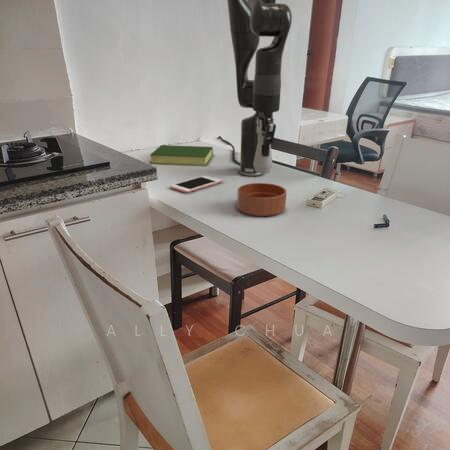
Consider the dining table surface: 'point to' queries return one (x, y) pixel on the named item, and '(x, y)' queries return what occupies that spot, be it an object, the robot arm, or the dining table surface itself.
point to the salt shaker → (262, 158)
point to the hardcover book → (182, 155)
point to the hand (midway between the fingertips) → (263, 156)
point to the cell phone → (195, 184)
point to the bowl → (261, 199)
